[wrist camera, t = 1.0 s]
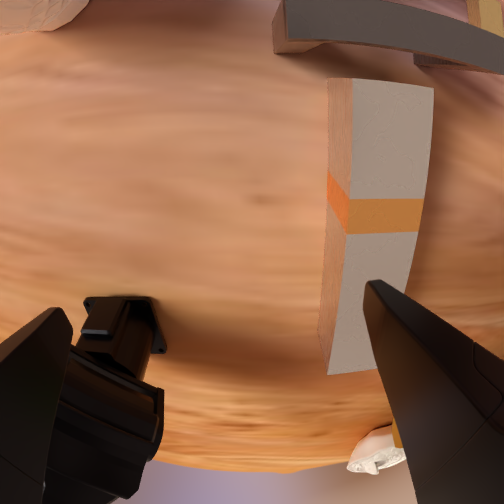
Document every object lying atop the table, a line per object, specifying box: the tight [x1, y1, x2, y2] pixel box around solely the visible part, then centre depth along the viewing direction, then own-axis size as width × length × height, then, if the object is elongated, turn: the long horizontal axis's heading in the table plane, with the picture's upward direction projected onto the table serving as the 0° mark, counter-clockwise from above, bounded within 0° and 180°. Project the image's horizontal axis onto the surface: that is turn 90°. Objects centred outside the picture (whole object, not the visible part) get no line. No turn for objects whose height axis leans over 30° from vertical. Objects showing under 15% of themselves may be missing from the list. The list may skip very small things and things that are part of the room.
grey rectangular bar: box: [318, 78, 434, 375], centre depth 19 cm, size 20×4×5 cm, turn 3°
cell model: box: [347, 425, 406, 474], centre depth 36 cm, size 10×12×7 cm
